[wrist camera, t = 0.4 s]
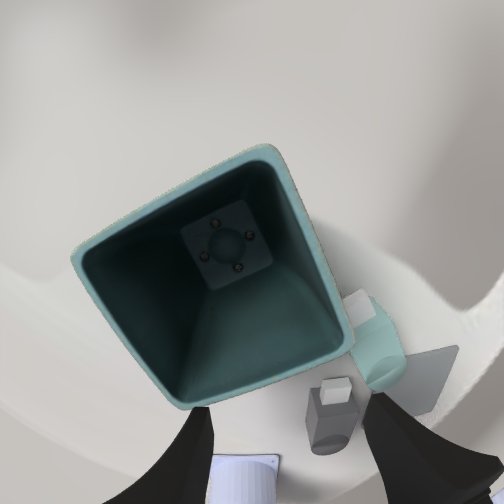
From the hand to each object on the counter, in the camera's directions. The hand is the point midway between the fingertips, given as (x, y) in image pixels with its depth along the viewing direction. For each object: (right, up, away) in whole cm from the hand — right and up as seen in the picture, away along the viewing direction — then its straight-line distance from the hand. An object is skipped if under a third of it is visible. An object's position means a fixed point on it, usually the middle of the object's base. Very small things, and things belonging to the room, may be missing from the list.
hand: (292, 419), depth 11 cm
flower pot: (-3, +8, +8) cm, 12 cm away
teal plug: (+7, +1, +10) cm, 12 cm away
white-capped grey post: (+5, -7, +12) cm, 15 cm away
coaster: (+14, -6, +12) cm, 20 cm away
